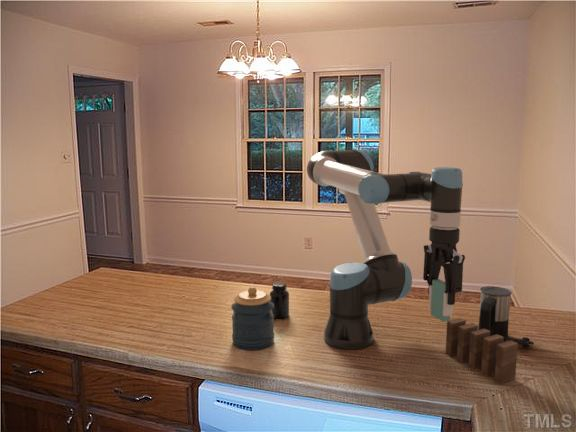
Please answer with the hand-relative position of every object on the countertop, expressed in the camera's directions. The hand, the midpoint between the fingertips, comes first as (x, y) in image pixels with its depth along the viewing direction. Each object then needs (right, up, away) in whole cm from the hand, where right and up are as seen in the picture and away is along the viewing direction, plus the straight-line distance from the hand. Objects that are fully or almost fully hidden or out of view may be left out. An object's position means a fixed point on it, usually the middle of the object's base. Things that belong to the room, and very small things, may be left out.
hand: (440, 311), depth 129 cm
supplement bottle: (-44, -10, +39) cm, 60 cm away
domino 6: (+15, -17, -5) cm, 23 cm away
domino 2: (+7, -14, +10) cm, 19 cm away
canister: (-52, -13, +19) cm, 57 cm away
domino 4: (+11, -15, +2) cm, 19 cm away
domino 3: (+9, -15, +6) cm, 18 cm away
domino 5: (+13, -16, -2) cm, 21 cm away
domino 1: (0, -2, 0) cm, 2 cm away
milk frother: (+26, -13, +19) cm, 34 cm away
